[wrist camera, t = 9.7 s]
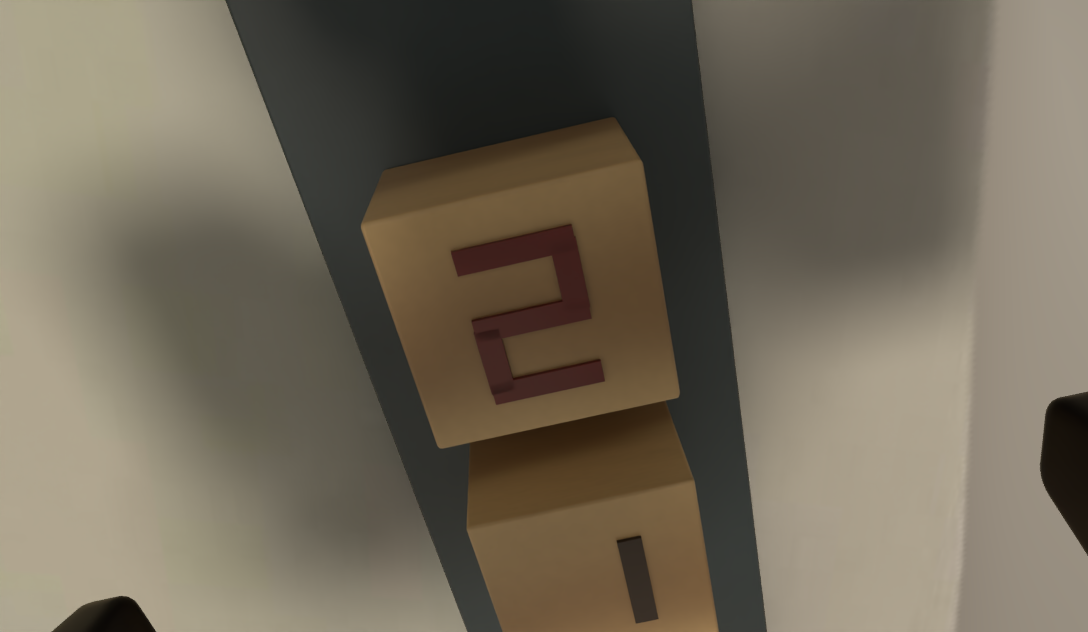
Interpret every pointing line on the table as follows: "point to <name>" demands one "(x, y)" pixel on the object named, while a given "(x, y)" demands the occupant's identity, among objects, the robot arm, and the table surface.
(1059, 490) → the robot arm
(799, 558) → the table surface
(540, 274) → the number block
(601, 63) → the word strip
